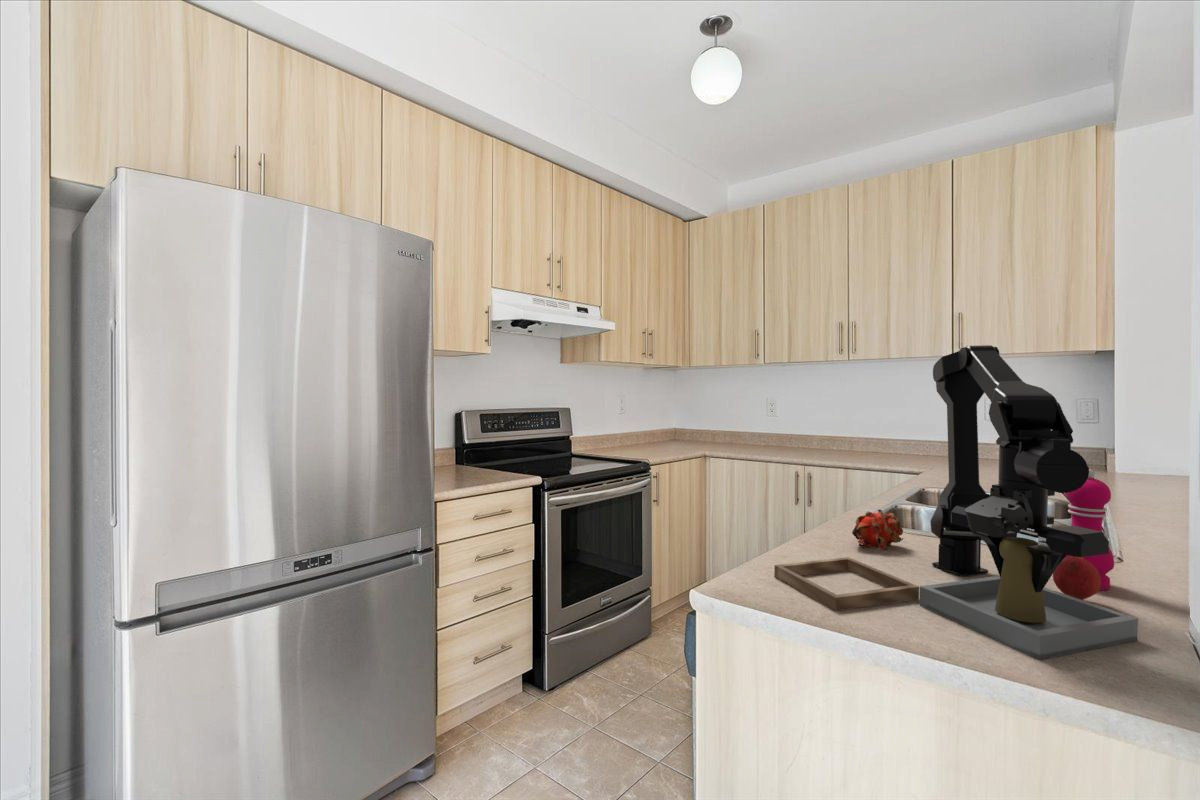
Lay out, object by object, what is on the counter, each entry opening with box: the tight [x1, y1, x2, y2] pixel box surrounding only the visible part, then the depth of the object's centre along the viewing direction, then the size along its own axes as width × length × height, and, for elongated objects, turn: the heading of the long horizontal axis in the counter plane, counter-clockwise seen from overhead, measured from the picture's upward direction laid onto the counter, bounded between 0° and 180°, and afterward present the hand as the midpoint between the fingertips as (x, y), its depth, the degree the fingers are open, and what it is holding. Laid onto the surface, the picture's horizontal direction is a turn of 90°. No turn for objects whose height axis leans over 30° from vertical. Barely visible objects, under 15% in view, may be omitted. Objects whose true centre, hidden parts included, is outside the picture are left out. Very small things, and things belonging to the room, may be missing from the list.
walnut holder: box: [774, 556, 920, 612], centre depth 95 cm, size 16×16×2 cm
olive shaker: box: [995, 536, 1046, 623], centre depth 81 cm, size 6×6×11 cm
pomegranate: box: [1052, 556, 1101, 601], centre depth 88 cm, size 6×6×8 cm
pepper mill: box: [1064, 468, 1115, 591], centre depth 96 cm, size 7×7×20 cm
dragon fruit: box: [851, 509, 904, 551], centre depth 118 cm, size 8×8×12 cm
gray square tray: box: [919, 575, 1139, 661], centre depth 81 cm, size 18×18×3 cm
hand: (1020, 586), depth 81 cm, fingers closed on olive shaker, 4 cm apart
